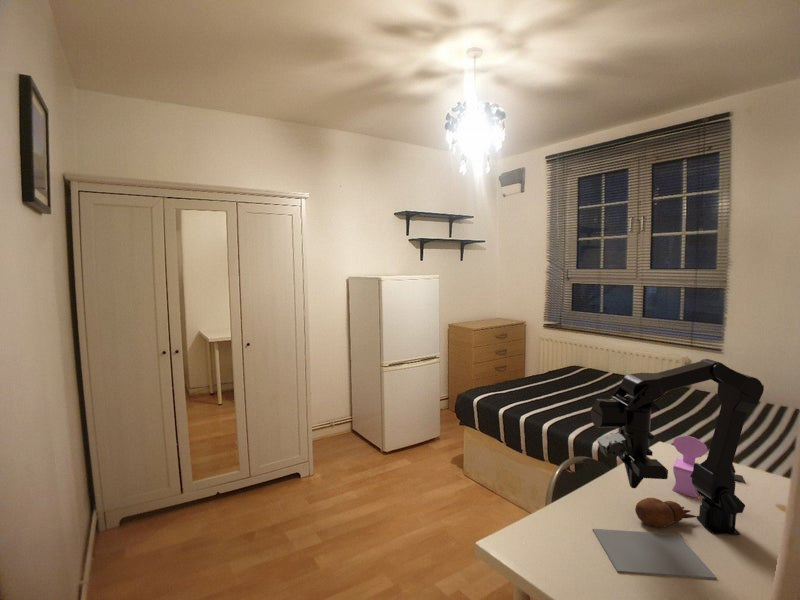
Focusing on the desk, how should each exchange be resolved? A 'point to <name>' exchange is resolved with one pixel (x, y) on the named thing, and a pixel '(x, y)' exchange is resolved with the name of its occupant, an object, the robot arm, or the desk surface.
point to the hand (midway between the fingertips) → (633, 487)
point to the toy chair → (686, 463)
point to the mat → (651, 554)
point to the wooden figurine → (660, 512)
